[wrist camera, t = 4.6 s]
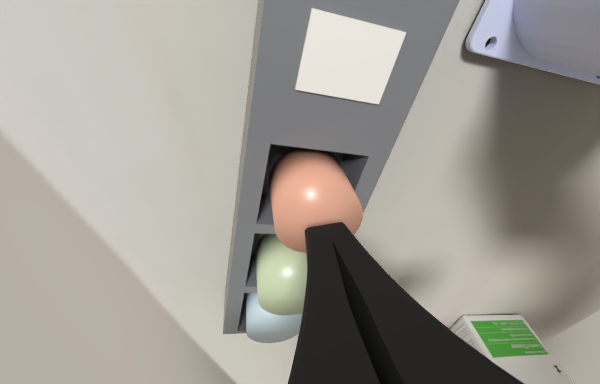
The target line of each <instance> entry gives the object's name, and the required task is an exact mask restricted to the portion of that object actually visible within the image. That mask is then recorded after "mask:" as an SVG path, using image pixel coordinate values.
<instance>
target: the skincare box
mask: <svg viewBox="0 0 600 384" xmlns="http://www.w3.org/2000/svg"><path fill="white" fill-rule="evenodd" d="M449 329H450V330H451V331H452V332H453V333H455V334H456V335H457V336H458V337H460V338H461V339H463V340H464V341H465V342H467V343H468V344H469V345H471V346H472V347H473V348H475V349H476V350H477V351H479V352H480V353H481V354H483V355H484V356H485V357H487V358H488V359H490V360H491V361H492V362H494V363H495V364H496V365H498V366H499V367H501V368H502V369H504V370H505V371H507V372H508V373H510V374H511V375H512V376H514V377H515V378H517V379H518V380H520V381H521V382H523V383H524V384H574V382H573V381H572V380H571V378H570V377H569V376H568V375H567V373H566V372H565V371H564V369H563V368H562V367H561V365H560V364H559V363H558V362H557V360H556V359H555V358H554V356H553V355H552V354H551V352H550V351H549V350H548V349H547V347H546V346H545V345H544V344H543V342H542V341H541V340H540V338H539V337H538V336H537V334H536V333H535V332H534V331H533V329H532V328H531V327H530V325H529V324H528V323H527V322H526V320H525V319H524V318H523V317H522V316H521V315H462V316H461V317H460V318H459V319H458V320H457V321H456V322H455V323H454V324H453V325H452V326H451V327H450V328H449Z"/></svg>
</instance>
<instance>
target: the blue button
mask: <svg viewBox="0 0 600 384" xmlns="http://www.w3.org/2000/svg"><path fill="white" fill-rule="evenodd" d="M301 320H302V313H301V314H296V315H276V314H272V313H269V312H267V311H265V310H264V309H262V308H261V307H260V305H259V303H258V296H257V293H246V333H247V336H248V337H249V338H250V339H252V340H254V341H257V342H261V343H275V342H281V341H284V340H287V339H290V338H292V337H294V336H296V335H297V334H298V333H299V331H300V326H301Z"/></svg>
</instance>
